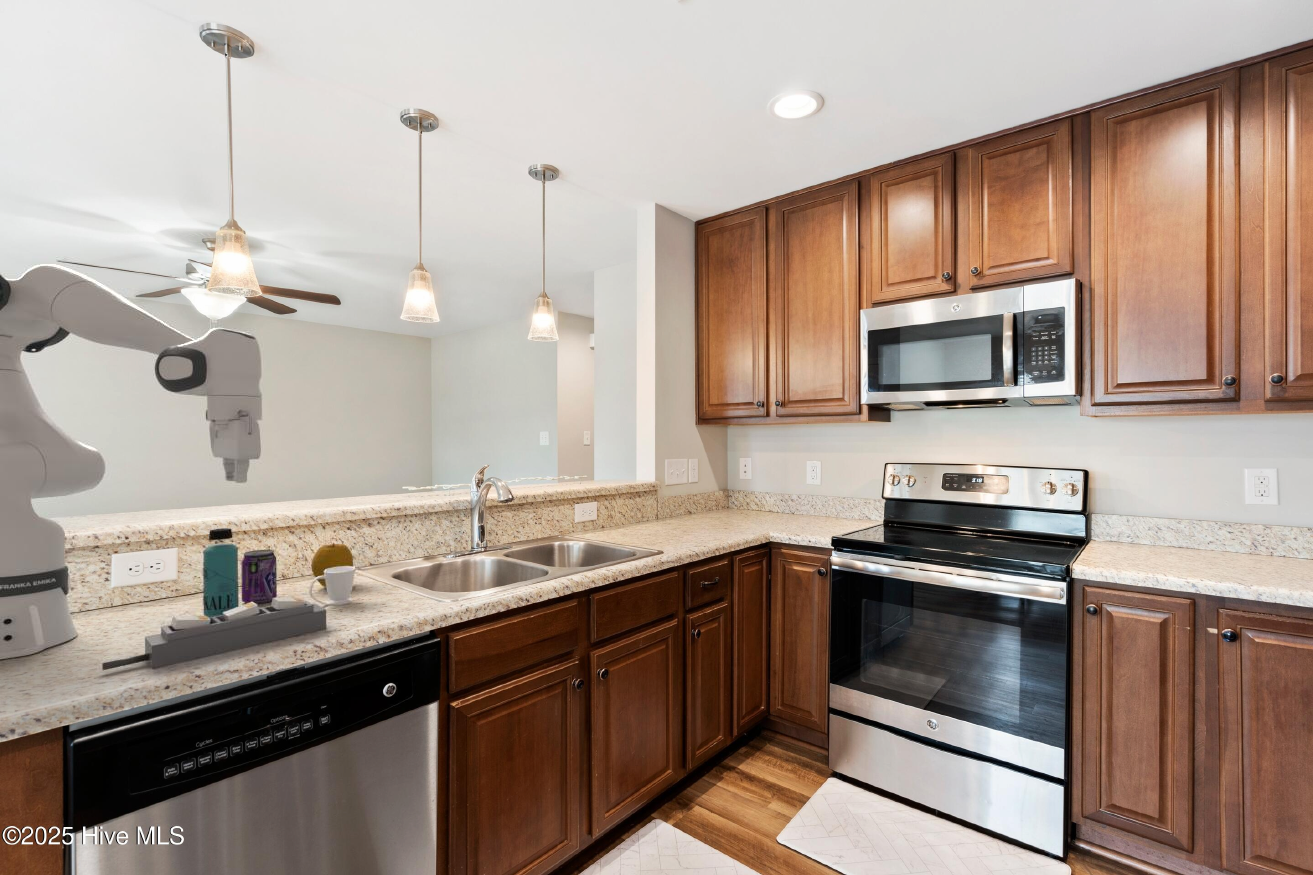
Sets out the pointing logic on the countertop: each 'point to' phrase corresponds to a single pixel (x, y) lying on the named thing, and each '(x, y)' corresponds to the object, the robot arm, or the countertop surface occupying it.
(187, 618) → the block
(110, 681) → the countertop surface
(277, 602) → the rocker
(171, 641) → the rocker switch panel
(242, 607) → the rocker
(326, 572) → the cup
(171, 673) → the countertop surface
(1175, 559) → the countertop surface
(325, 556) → the apple
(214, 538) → the beverage bottle
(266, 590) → the beverage can
